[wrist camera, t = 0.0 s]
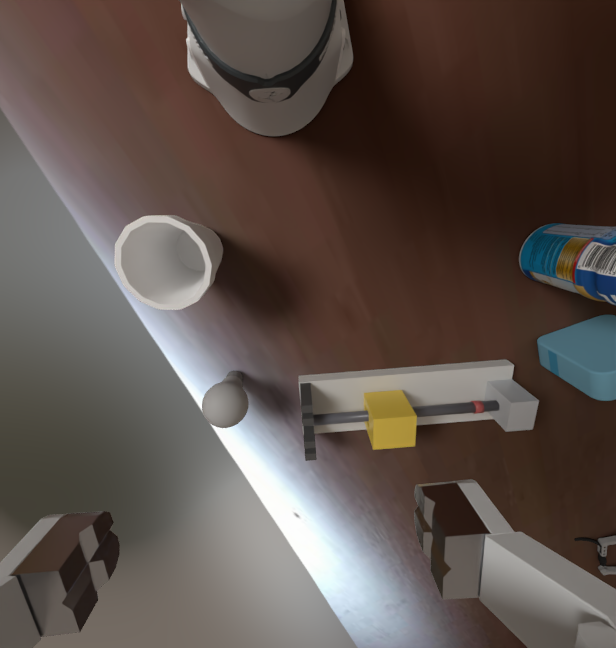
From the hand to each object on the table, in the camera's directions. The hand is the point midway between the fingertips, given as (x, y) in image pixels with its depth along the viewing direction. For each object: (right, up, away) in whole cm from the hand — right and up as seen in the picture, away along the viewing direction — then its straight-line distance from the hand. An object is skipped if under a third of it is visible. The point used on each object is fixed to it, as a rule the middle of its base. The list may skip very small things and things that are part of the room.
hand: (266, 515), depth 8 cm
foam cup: (-14, +16, +35) cm, 41 cm away
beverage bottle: (+35, +16, +37) cm, 54 cm away
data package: (+43, +3, +42) cm, 61 cm away
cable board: (+17, -7, +45) cm, 48 cm away
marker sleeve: (+13, -8, +42) cm, 45 cm away
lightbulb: (-10, -3, +42) cm, 44 cm away
